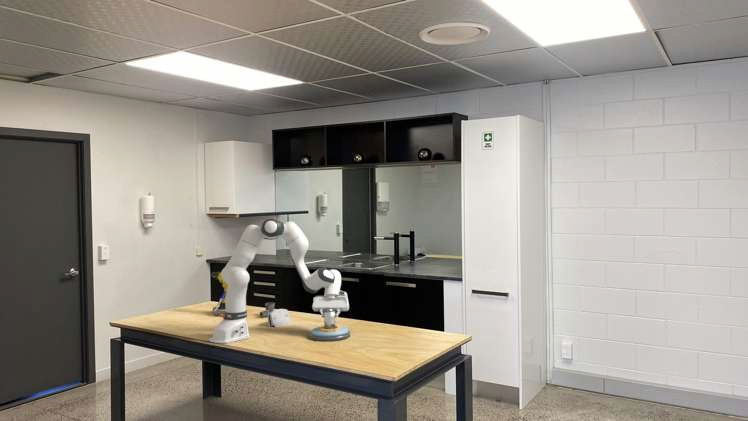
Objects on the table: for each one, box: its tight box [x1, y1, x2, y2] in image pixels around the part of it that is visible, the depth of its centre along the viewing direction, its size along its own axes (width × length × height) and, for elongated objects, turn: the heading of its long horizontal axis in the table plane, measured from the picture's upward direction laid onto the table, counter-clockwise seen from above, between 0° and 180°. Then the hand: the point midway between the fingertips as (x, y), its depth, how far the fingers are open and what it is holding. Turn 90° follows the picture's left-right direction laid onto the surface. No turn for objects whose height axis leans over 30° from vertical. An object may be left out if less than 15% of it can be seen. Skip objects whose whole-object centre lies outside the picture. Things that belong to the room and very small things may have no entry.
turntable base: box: [309, 329, 351, 343], centre depth 300 cm, size 22×22×2 cm
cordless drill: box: [210, 271, 228, 317], centre depth 368 cm, size 18×19×28 cm
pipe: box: [259, 302, 276, 318], centre depth 355 cm, size 6×13×8 cm, turn 152°
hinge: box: [266, 308, 294, 328], centre depth 333 cm, size 17×5×10 cm, turn 149°
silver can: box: [323, 309, 336, 328], centre depth 299 cm, size 6×6×9 cm
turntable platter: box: [311, 325, 349, 337], centre depth 300 cm, size 20×20×3 cm
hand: (329, 316), depth 299 cm, fingers closed on silver can, 6 cm apart
